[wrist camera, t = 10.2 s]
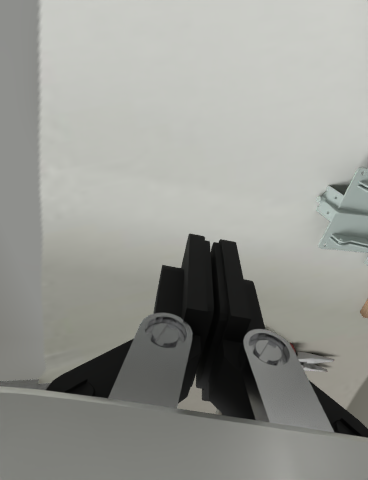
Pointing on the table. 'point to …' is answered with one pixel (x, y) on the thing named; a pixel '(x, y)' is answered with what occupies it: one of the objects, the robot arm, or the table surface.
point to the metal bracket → (346, 216)
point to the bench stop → (365, 310)
